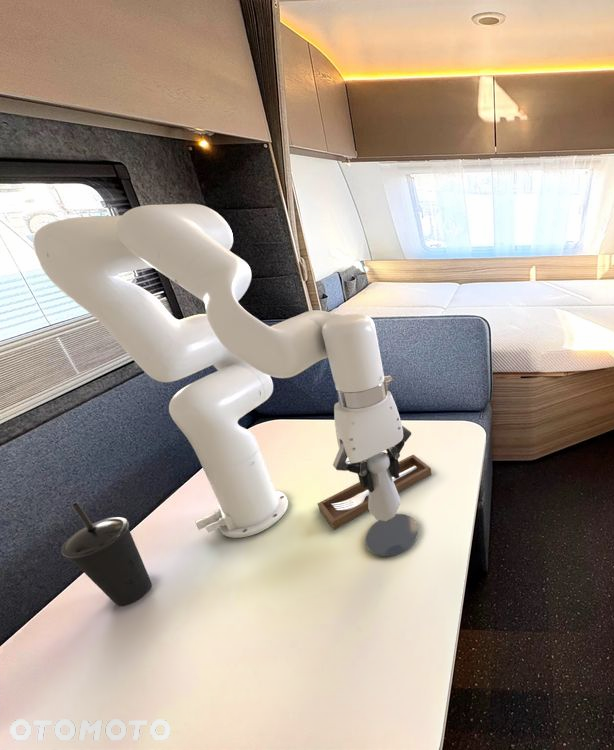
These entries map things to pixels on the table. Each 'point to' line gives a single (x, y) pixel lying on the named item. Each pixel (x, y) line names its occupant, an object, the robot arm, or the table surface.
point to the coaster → (392, 535)
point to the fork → (363, 495)
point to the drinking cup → (109, 558)
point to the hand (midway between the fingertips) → (381, 480)
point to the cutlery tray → (344, 516)
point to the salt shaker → (382, 488)
